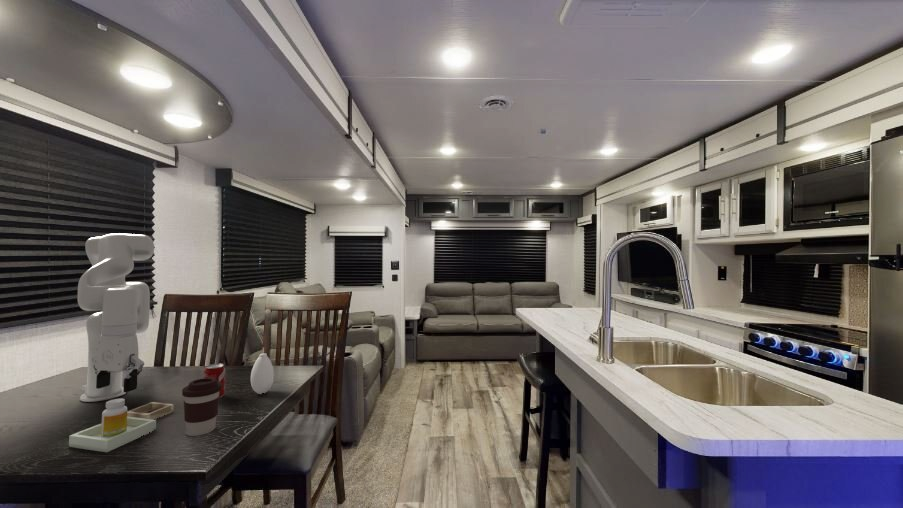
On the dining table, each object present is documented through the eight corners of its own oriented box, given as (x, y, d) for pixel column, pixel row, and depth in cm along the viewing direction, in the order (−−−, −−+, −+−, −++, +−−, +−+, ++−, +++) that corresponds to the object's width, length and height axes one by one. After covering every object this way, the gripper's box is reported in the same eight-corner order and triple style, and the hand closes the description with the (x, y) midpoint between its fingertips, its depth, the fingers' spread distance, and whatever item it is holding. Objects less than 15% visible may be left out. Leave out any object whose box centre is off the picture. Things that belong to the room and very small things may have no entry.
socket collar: (124, 420, 113) (124, 412, 113) (152, 409, 122) (152, 401, 122) (146, 423, 112) (147, 415, 112) (173, 411, 120) (173, 404, 120)
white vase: (245, 395, 136) (247, 348, 137) (263, 388, 144) (264, 344, 144) (260, 398, 134) (262, 350, 134) (277, 391, 141) (279, 346, 141)
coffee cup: (189, 442, 101) (191, 389, 101) (174, 433, 106) (176, 382, 106) (226, 429, 109) (228, 379, 109) (211, 420, 114) (212, 374, 115)
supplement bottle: (130, 432, 104) (131, 399, 104) (106, 441, 99) (108, 405, 99) (120, 428, 106) (122, 396, 106) (97, 436, 101) (98, 402, 101)
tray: (68, 446, 97) (69, 435, 97) (121, 425, 110) (121, 415, 110) (106, 452, 95) (107, 440, 95) (155, 430, 107) (156, 420, 107)
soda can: (213, 402, 129) (214, 368, 130) (198, 400, 131) (199, 367, 131) (228, 395, 136) (229, 363, 136) (213, 393, 137) (215, 362, 138)
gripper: (80, 330, 101) (77, 390, 101) (129, 335, 98) (126, 397, 98) (110, 325, 108) (107, 381, 108) (156, 329, 105) (154, 387, 105)
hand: (116, 388), depth 103 cm, fingers open, 9 cm apart
